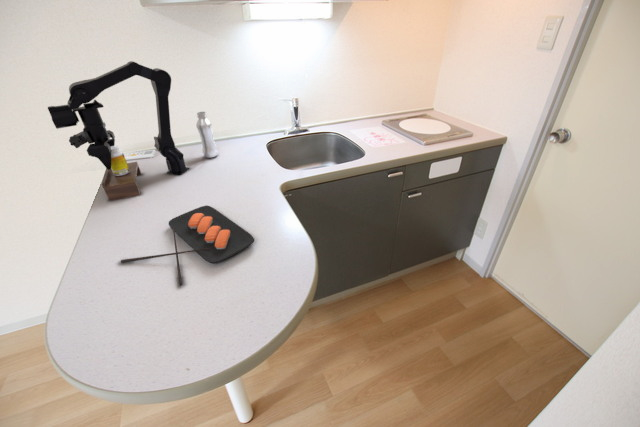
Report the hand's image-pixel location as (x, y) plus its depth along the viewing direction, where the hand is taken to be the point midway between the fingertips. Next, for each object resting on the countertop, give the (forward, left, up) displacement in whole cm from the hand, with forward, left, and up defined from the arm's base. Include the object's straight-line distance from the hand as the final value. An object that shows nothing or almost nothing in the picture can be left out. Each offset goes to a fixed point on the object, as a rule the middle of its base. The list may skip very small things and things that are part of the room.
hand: (110, 164), depth 114 cm
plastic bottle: (-18, -35, -10) cm, 41 cm away
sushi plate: (-48, +25, -10) cm, 55 cm away
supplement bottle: (-2, -2, -4) cm, 5 cm away
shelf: (-2, -1, -10) cm, 10 cm away
